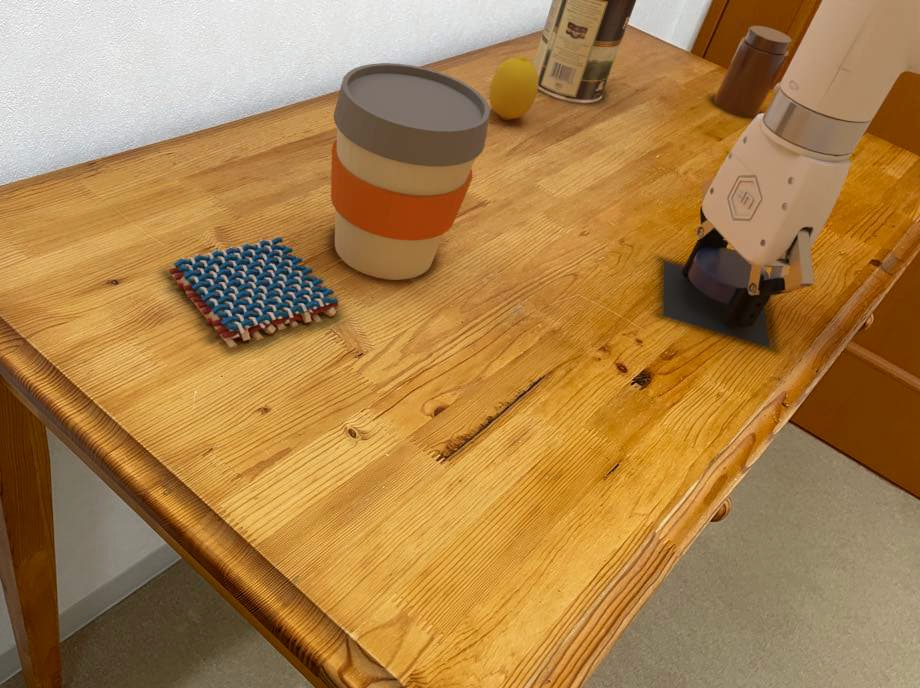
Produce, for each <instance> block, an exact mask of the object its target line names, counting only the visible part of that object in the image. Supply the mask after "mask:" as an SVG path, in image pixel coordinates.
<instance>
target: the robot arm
mask: <svg viewBox="0 0 920 688" xmlns="http://www.w3.org/2000/svg"><path fill="white" fill-rule="evenodd" d="M791 59H792V60H791V61H790V63H789V65H788V66H787V69H786V71H785V73H784V75H783V77H782V78H781V81H779V82H777V83H776V84H775V85H774V87H773V89H772V94H773V96H772V98H771V100H770V101H769V103H768V106H767V108H766V110H765V112H762V113H759V114H758V115H757V116H756V117H753V119H752V120H751V122H750V123H749V124H748V125H747V127H746V128H745V129H744V130H743V132H742V133H741V134H740V135H739V137H738V138H737V141H736V142H735V143H734V145H733V146H732V148H731V149H730V151H729V153H728V154H727V156H726V157H725V158H724V161H723V163H722V164H721V166H720V168H719V170H718V171H717V173H716V175H715V177H713V178H711V179H707V180H704V181H703V182H702V185H701V203H702V204H701V205H700V208H699V212H700V213H699V216H700V225H699V226H698V227H697V229H696V237H697V238H698V239H697V240H696V242H695V245H694V246H693V248H692V251H691V252H690V254H689V257H688V258H687V260H686V262H685V264H684V266H683V267H684V268H683V270H682V275H683V276H684V277H686V278H689V276H688V273H687V272H688V270H689V268H690V266H691V264H692V262H693V260H694V258H695V256H696V254H697V252H698V251H699V250H700V249H702V248H705V247H724V248H728V245H730V246H731V247H732V248H733V250H736V251H737V252H738V253H739V254H740V255H741V256H742V257H743V258H744V259H745V260H746V261H747V262H748V263H749V264H751V265H752V266H751V272H750V277H749V283H748V288H741V289H740V290H739V291H738V293H737V295H736V297H735V298H734V300H733V302H732V304H731V305H730V307H729V309H728V311H727V312H726V314H725V316H724V318H723V324H724V325H725V326H726V327H740V326H751V325H753V324H754V323H755V321H756V320H757V318H758V316H759V315H760V313H761V312H762V310H763V308H766V307H765V306H766V305H767V304H768V301H770V298H771V297H772V296H779V295H781V294H787V293H792V292H793V291H798V290H801V289H804V288H808V287H811V286H812V285H813V284H814V281H815V277H814V268H813V257H812V247H813V246H814V244H815V242H816V241H817V239H818V237H819V235H821V232H822V230H823V228H824V226H825V225H826V223H827V221H828V219H829V217H830V216H831V213H832V211H833V209H834V207H835V205H836V203H837V200H838V199H839V196H840V194H841V192H842V190H843V187H844V184H845V181H846V179H847V176H848V174H849V172H850V168H851V166H852V161H851V160H850V157H851V156H852V154H853V153H854V151H855V149H856V147H857V146H858V144H859V143H860V141H861V139H862V137H863V136H864V134H865V133H866V131H867V130H868V128H869V126H870V124H871V123H872V121H873V120H874V118H875V116H876V115H877V113H878V111H879V109H880V108H881V106H882V105H883V102H885V100H886V98H887V97H888V95H889V93H890V91H891V89H893V86H894V84H895V83H896V81H897V80H898V78H899V77H900V75H901V74H902V73H905V72H909V73H913V74H917V75H920V0H821V3H820V4H819V7H818V8H817V10H816V11H815V14H814V15H813V18H812V20H811V21H810V24H809V26H808V28H807V30H806V32H805V34H804V36H803V38H802V39H801V42H800V43H799V46H798V47H797V49H796V51H795V53H794V55H793V57H792V58H791ZM788 266H789V272H788V273H787V268H788ZM767 267H768V268H771V269H770V275H769V279H768V280H764V276H765V271H767ZM786 273H787V274H786Z"/></svg>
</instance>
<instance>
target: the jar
mask: <svg viewBox="0 0 920 688" xmlns="http://www.w3.org/2000/svg"><path fill="white" fill-rule="evenodd" d="M747 30H748V32H747V33H746V36H743V37H742V38H741V39H740V41H739V44H738V46H737V48H736V50H735V53H734V55H733V57H732V59H731V61H730V64H729V66H728V67H727V70H726V72H725V75H724V76H723V78H722V81H721V83H720V86H719V87H718V89H717V92H716V94H715V96H714V98H713V103H714V104H715V106H717V107H718V108H720V109H721V110H722V111H725V112H726V113H729V114H731V115H735V116H738V117H741V118H750V119H751V118H755V117H756V116H757V115H758V114H760V112H761V110H762V108H763V105H764V104H765V102H766V100H767V98H768V96H769V94H770V92H771V90H772V88H773V86H774V84H775V82H776V80H777V78H778V76H779V73H780V72H781V70H782V68H783V66H784V64H785V62H786V60H787V58H788V56H789V51H788V49H790V47H791V43H792V38H791V37H790V36H789V35H787V34H786V33H784V32H782V31H781V30H780V31H779V30H778V29H775V28H771V27H768V26H763V25H752V26H750V27H748V29H747Z"/></svg>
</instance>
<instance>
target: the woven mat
mask: <svg viewBox="0 0 920 688" xmlns="http://www.w3.org/2000/svg"><path fill="white" fill-rule="evenodd" d="M283 241H284V239H283V238H282V237H280V236H279V237H275V238H274V239H268V240H265V239H263V238H260V239H259V242H252V244H248V243H246V242H242V245H243V246H241V245H240V246H239V245H238V246H235V248H234V247H232V246H229V247H228V248H227V249H226V250H225V249H221V250H220V249H219V250H217V249H216V248H215V249H212V253H211V252H207V253H205V255H201V254H199V253H195V257H194V256H191V257H190V256H189V257H187V258H186V259H185V257H181V258H180V259H178V260H177V261H175V262H174V263H173V266H174V268H173V267H172V268H170V269H169V274H170V275H171V276H172V278H173V279H174V282H176V287H177V288H178V289H181V290H183V291H185V292H184V293H185V295H186V296H187V298H188V299H189V300H191V302H192V303H193V304H194V305H195V307H196V308H197V309H198V310H199V312H200V313H201V314H202V316H204V317H205V319H206V320H205V322H206V323H207V324H208V325H210V326H213V329H214V330H215V331H216V333H217V334H218V335H219V337H220V338H221V339H222V340H223V341H224V342H225V343H226V345H227V346H228V347H229V349H232V348H236V347H238V345H237V343H236V341H235V340H234V339H237V338H238V339H240V340H242V341H243V342H245V341H248V340H251V336H252V337H253V338H254V339H255V340H256V341H260V340H262V339H264V336H263V335H262V333H261V332H260V330H262V331H263V332H264V333H266V334H269V335H271V334H273V333H274V332H275V331H276V330H278V331H279V332H280V331H283V330H286V329H287V326H286V325H287V324H288V325H289V326H290V327H291V328H293V327H294V328H295V327H298V326H299V323H298V322H297V321H299V322H302V323H303V322H304V323H303V324H307V323H310V322H312V319H313V320H314V321H315V322H316V323H320V322H323V319H322V318H321V317H320V316H319V313H323V314H324V315H326V316H328V317H330V318H332V317H333V316H334V315H335V314H336V313H337V311H336V309H335V308H337V307H338V306H339V300H338V298H337V297H333V298H332V297H329V296H331V295H333V294H334V293H335V291H334V290H333V289H332V288H330V289H328V288H327V287H326V286H322V285H323V283H324V280H323V279H322V277H321V278H317V277H316V275H313V276H311V275H309V274H312V273H313V272H314V269H313V268H312V267H306V265H299V264H301V263H302V262H303V261H304V259H303V258H302V257H297V256H296V255H292V254H291V253H293V251H294V249H293V247H287V246H286V245H285V244H284V245H279V243H283ZM297 264H298V265H297Z"/></svg>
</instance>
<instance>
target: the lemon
mask: <svg viewBox="0 0 920 688" xmlns="http://www.w3.org/2000/svg"><path fill="white" fill-rule="evenodd" d="M538 90H539V89H538V73H537V71H536V68H535V67H534V63H532V61H530V60H528V57H527V56H525V55H519V56H516V57H515V56H514V57H511V58H509V59H507V60H505V61H503V62H502V63H501V64H500V66H499V67H498V68H497V70H496V71H495V73H494V75H493V77H492V80H491V82H490V87H489V102H490V106H491V108H492V111H494V112H495V114H497V115H499V117H500V119H502V120H503V121H510V120H515V119H519V118H521V117H523V116H524V115H525V114H527V112H529V111H530V109H531V108H532V107H533V105H534V102H535V100H536V98H537V93H538Z"/></svg>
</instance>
